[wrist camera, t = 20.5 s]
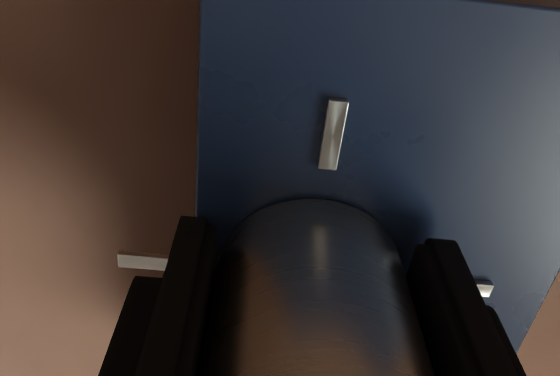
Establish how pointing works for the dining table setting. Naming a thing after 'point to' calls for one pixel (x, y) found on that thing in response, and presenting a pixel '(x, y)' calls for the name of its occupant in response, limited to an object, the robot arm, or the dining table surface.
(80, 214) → the dining table surface
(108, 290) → the dining table surface
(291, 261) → the tap knob
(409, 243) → the panel
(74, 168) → the dining table surface
